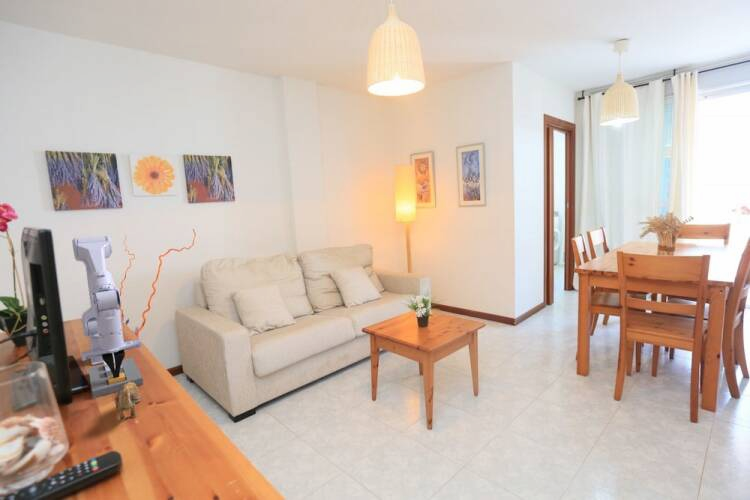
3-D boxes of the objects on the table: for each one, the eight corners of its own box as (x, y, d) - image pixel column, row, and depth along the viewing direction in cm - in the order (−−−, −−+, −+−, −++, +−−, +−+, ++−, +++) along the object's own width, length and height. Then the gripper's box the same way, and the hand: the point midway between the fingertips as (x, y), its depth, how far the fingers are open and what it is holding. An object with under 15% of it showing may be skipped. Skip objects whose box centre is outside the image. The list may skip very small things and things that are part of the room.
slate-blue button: (106, 375, 118) (105, 367, 118) (121, 371, 121) (120, 363, 120) (107, 379, 115) (106, 371, 115) (123, 375, 118) (122, 367, 117)
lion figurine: (144, 421, 93) (140, 386, 92) (118, 429, 90) (113, 393, 89) (140, 397, 105) (136, 366, 104) (117, 404, 102) (112, 372, 101)
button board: (89, 373, 123) (88, 367, 122) (133, 363, 130) (132, 357, 130) (93, 398, 106) (92, 391, 106) (143, 384, 114) (142, 377, 113)
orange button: (108, 384, 113) (107, 376, 113) (124, 380, 116) (123, 372, 115) (109, 389, 110) (108, 381, 110) (126, 384, 113) (125, 376, 112)
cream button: (104, 368, 123) (103, 361, 123) (119, 364, 126) (118, 357, 125) (105, 372, 120) (104, 364, 120) (120, 368, 123) (119, 361, 122)
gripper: (79, 341, 103) (85, 389, 105) (141, 329, 112) (146, 373, 114) (78, 335, 109) (84, 381, 111) (138, 323, 118) (143, 366, 119)
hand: (116, 376), depth 113 cm, fingers closed, pressing on orange button
